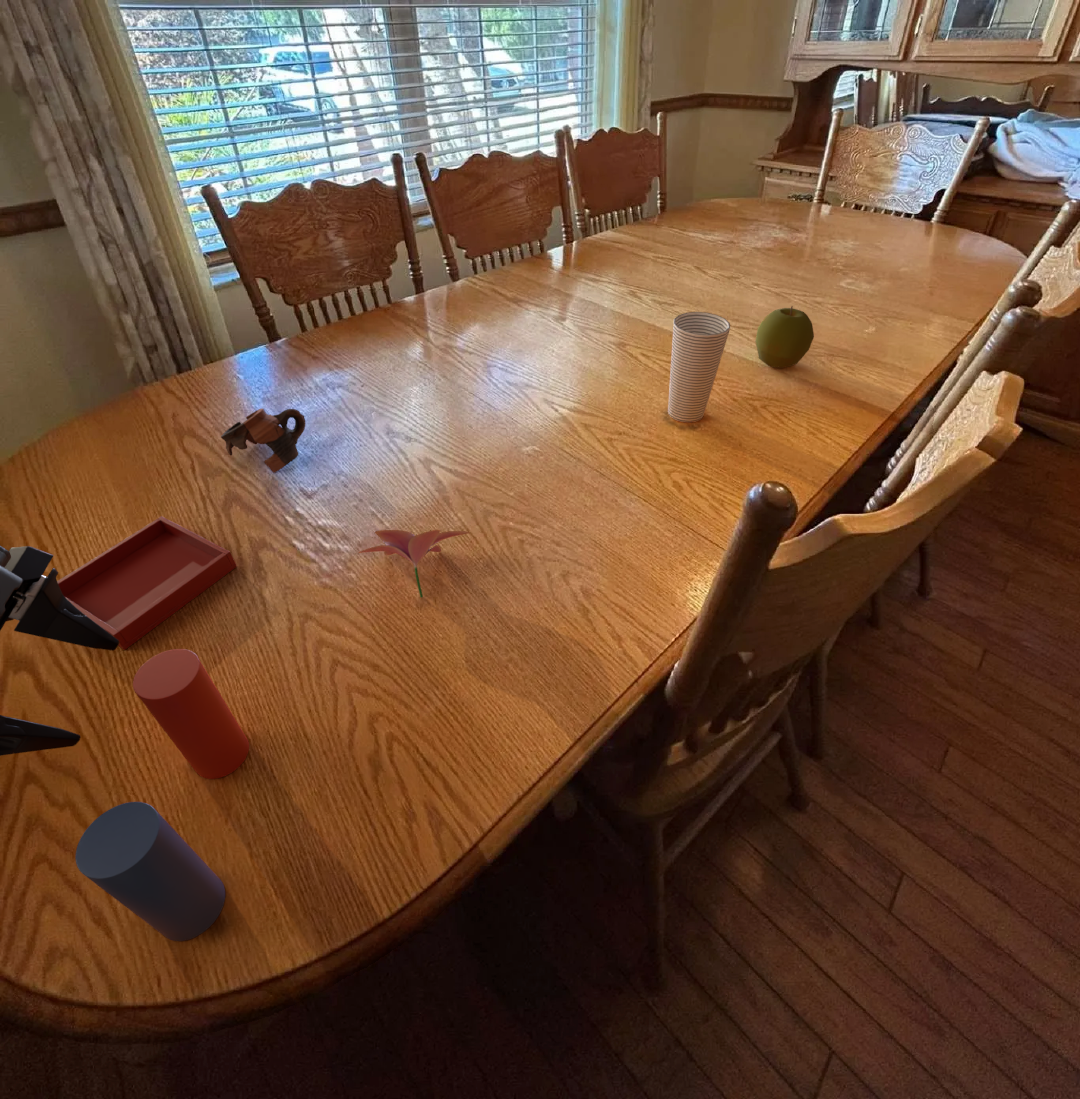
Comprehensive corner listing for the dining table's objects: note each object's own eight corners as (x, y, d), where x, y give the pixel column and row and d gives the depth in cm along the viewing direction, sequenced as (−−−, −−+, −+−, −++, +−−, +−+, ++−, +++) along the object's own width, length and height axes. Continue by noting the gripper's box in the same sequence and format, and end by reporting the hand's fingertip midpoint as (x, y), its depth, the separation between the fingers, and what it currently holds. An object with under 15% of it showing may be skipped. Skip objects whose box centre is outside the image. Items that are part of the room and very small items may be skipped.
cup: (716, 427, 102) (736, 335, 92) (663, 427, 102) (678, 335, 91) (705, 400, 108) (723, 311, 98) (656, 400, 108) (669, 311, 98)
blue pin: (167, 956, 48) (82, 896, 39) (151, 899, 51) (68, 831, 42) (233, 912, 50) (168, 845, 41) (214, 860, 53) (149, 787, 44)
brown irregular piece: (259, 487, 91) (218, 440, 87) (250, 481, 99) (212, 438, 95) (326, 438, 95) (290, 391, 91) (312, 436, 103) (278, 393, 99)
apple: (795, 381, 113) (813, 321, 106) (743, 367, 117) (757, 309, 110) (810, 359, 120) (828, 301, 112) (759, 347, 123) (773, 290, 116)
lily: (487, 572, 79) (470, 498, 77) (446, 609, 69) (425, 524, 66) (405, 579, 84) (387, 510, 81) (355, 615, 73) (331, 536, 70)
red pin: (202, 789, 57) (140, 710, 49) (186, 749, 60) (126, 668, 51) (256, 758, 60) (207, 678, 51) (239, 721, 63) (189, 639, 54)
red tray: (124, 650, 69) (113, 635, 67) (55, 604, 74) (43, 589, 72) (237, 566, 79) (230, 551, 77) (169, 530, 83) (161, 515, 82)
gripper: (-231, 668, 32) (101, 747, 41) (-46, 461, 46) (174, 553, 55) (-269, 767, 37) (37, 819, 46) (-91, 552, 50) (119, 624, 59)
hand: (98, 690), depth 51 cm, fingers open, 9 cm apart
